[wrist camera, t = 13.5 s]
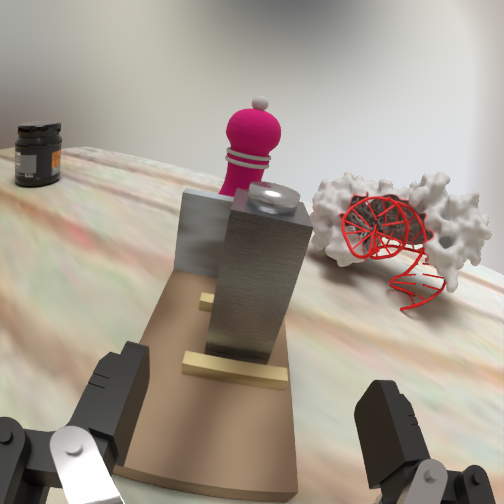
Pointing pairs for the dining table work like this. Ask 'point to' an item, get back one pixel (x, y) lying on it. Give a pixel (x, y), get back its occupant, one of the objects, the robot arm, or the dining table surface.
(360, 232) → the lumpy white molecule
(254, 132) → the pepper mill
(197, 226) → the wooden base metal fixture
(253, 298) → the metal square bar
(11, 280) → the dining table surface
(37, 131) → the supplement container
